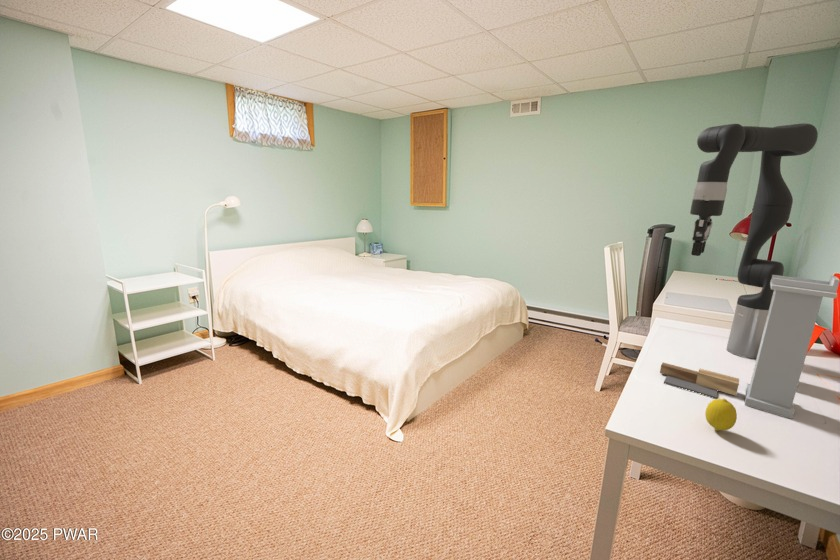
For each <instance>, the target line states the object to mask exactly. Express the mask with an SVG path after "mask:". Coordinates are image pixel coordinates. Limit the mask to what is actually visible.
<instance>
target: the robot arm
mask: <svg viewBox="0 0 840 560" xmlns="http://www.w3.org/2000/svg"><path fill="white" fill-rule="evenodd" d="M817 140H818V129H817V127H816V126H815V125H813V124H811V123H805V122H804V123H803V122H802V123H793V124H786V125H778V126H773V127H770V126H769V127H768V126H752V125H745V126H744V125H741V124H739V123H729V124H722V125H717V126H714V125H713V126H710V127H707V128H705V129H703V131H701V132H700V134H699V135H698V136H697V140H696V145H697V147H698V148H699V150H700V151H702V152H703V153H706V154H709V153H717V155H716V156H715V157H714V158H713V159H711V160H707V161H703V162H702V163H701V164H700V166H699V171H698V175H697V180H696V185H695V188H694V191H693V197H692V202H691V206H690V211H689V212H690V215H693V216H698V218H697V219H696V220H695V221H694V225H693V227H694V228H693V231H692V236H693V237H692V238H691V239H692V242H693V243H692V248H691V255H692V256H696V257H699V256H701V255H702V254H703V253H705V248H706V243H707V240H708V239H709V236H710V234H711V229H712V227H713V222H714V221H713V219H712V217H720V216H722V215H723V210H724V205H725V201H726V195H727V191H728V181H729V176H730V171H731V168H732V166H733V164H734V162H735V160H736V158H737V156H738V154H739V153H757V152H758V153H759V152H761V157H760V159H761V160H760V168H759V177H758V183H757V189H756V193H755V196H754V202H753V206H752V210H751V217H750V222H749V228H748V234H747V238H746V243H745V246H744V249H743V252H742V256H741V259H740V263H739V266H738V270H737V281H738V283H739V284H742V285H747V286H750V287H751V286H752V287H756V288H761V290H760V292H757V293H753V294H752V293H751V294H742V295H739V296H738V298H737V300H736V301H737V302H736V304H735V305H736V306H735V310H734V314H733V315H734V316H733V319H732V323H731V327H730V331H729V336H728V340H727V343H726V348H725V349H726V351H727V352H729V353H731V354H733V355H735V356H739V357H742V358H747V359H757V355H758V351H759V347H760V343H761V339H762V335H763V331H764V327H765V323H766V319H767V315H768V311H769V307H770V303H771V299H772V295H773V291H774V290H772V289H771V286H770V281H771V279H772V275H778V276H784V272H785V267H784V264H783V263H782V262H780V261H776V260H768V259H761V258H758V255H759V253H760V251H761V249H762V248H763V246H764V245H765V244H767V242H768V241H769V240H770V239H771V238H773V236H774V235H776V233H778V232H779V231H780V230H781V229H782V228H783V227H784V226H785V225H786V224H787V222H788V221H789V220H790V217H791V211H792V207H793V203H794V201H793V199H794V198H793V195H792V193H791V190H790V189H789V187H788V185H787V183H786V182H785V180H784V178H783V175H782V172H781V171H782V170H781V163H782V162H781V160H782V157H795V156H796V157H797V156H802V155H804V154H807V153H809V152H810V151H811V150H812V149H813V148H814V147H815V145H816V144H817Z"/></svg>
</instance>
